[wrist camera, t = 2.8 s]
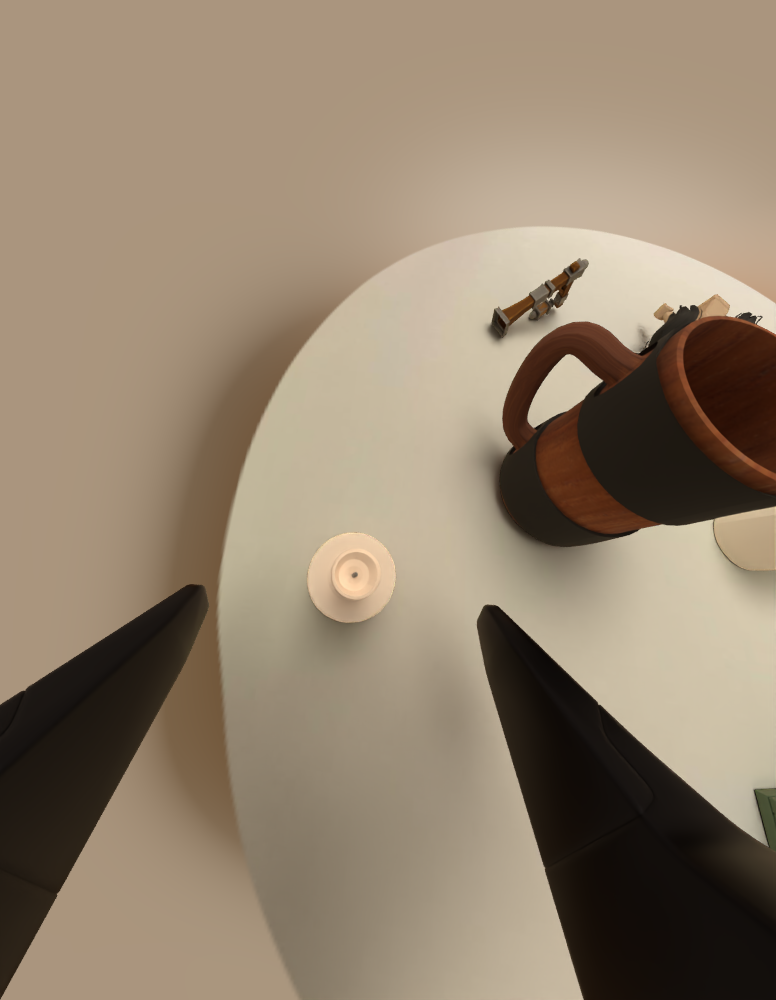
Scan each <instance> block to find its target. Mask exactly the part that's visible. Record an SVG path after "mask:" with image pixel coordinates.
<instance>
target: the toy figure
mask: <svg viewBox="0 0 776 1000" xmlns="http://www.w3.org/2000/svg"><path fill="white" fill-rule="evenodd" d="M681 306H682V305H680V309H679V310H678V312H677V313H676V314H675V313H674V312H672V311H673V308H671V307H669V306H667V304H666V303H665V304H663V305H662V306H661V307H660V308H659V309H658V310H657V311H656V312H655V313H654V316H655V317H656V318H657V319H659V320H664V322H665V324H664V325H663V326H662V327H661V328H660V329H658V330H657V331H656V332H655V334H654V335H653V336H652V338H651V341H650V343H649V346H651V345H652V344H654V343H655V342H657V341H658V340H660V339H661V338H662V337H664V336H665V335H667V334H668V333H669V332H671V331H672V330H674V329H675V328H677V327H680V326H682V325H684V324H688V323H691V322H694V321H696V320H698V319H700V318H704V317H708V316H726V314H727V313H728V310H729V308H730V305H729V304H728V303H727V302H726V301H725V300H723V299H722V298H721V297H720V296H719V295H718V294H717V295H714V296H713V297H711V298H710V299H708V300H707V301H705V302H704V303H702V304H701V305H699V306H698V307H696V306H695V305H692V306H690V310H689V309H688V308H687V307H686V306H685V307H681ZM741 314H742V313H741ZM739 315H740V314H739ZM739 315H737V316H736V317H735V318H737V317H738V316H739ZM751 315H752V313H750V312H748V313H743V314H742V315H741V316H739V317H738V319H742V320H745V321H748V322H751V323H753V324H755V321H756V319H757V317H756V316H751ZM750 316H751V317H750ZM758 317H761V318H760V319H759V320H758V321H760V320H761V319H762V316H758ZM758 321H757V323H758ZM757 323H756V325H757ZM648 342H649V341H648ZM648 342H647V343H648ZM647 343H646V344H647ZM645 349H646V346H645Z"/></svg>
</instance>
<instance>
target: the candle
mask: <svg viewBox="0 0 776 1000" xmlns="http://www.w3.org/2000/svg"><path fill="white" fill-rule="evenodd" d="M395 580H396V574H395V565H394V563H393V560H392V557H391V555H390V553H389V552H388V550H387V549H386V547H385V546H384V545H383V544H381V543H380V542H379V541H378V540H377V539H375V538H373V537H371V536H369V535H367V534H362V533H357V532H354V533H344V534H341V535H337V536H335V537H333V538H331V539H330V540H328V541H327V542H325V543H324V544H323V545H322V546H321V547H320V548H319V549H318V550H317V552H316V554H315V555H314V557H313V559H312V561H311V562H310V566H309V570H308V573H307V587H308V590H309V594H310V598H311V599H312V601H313V603H314V604H315V606H316V608H317V609H318V610H320V611H321V612H322V613H323V614H324V615H325V616H327V617H329V618H331V619H333V620H335V621H339V622H345V623H353V622H361V621H364V620H366V619H369V618H371V617H373V616H374V615H376V614H377V613H378V612H380V611H381V610H382V609H383V608H384V606H385V605H386V604H387V603H388V601H389V599H390V597H391V595H392V593H393V591H394V586H395Z"/></svg>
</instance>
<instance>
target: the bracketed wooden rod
mask: <svg viewBox="0 0 776 1000" xmlns="http://www.w3.org/2000/svg"><path fill="white" fill-rule="evenodd" d="M588 264H589V263H588V260H582V261H581V259H580V258H579V259H578V260H577V261H575V262H574V263H572V264H571V265H570V266H569V267H567V268H565V269H564V270H563V273H561V274H560V275H558V276H557V277H555V278H554V279H552V280H551V281H550V280H548V281H545V284H544V285H543V284H542V285H541V286H540V287H538V288H537V289H535V290H534V291H532V292H530V293H529V296H528V297H526V298H525V299H523V300H522V301H520V302H518V303H516V304H514V305H512V306H510V307H509V308H506V309H504V310H501V309H500V308H499V307H498V308H496V309H494V313H493V318H492V325H493V326H494V327H495V329H496V330H497V331H498V333H499V334H500V336H501V337H502V338H503V336H505V335H506V333H507V330H508V327H509V326H510V325H511V324H512V323H513V322H515V321H516V320H517V319H518V318H519V317H520V316H522V315H523V314H524V313H525V312H527V311H528V310H529V309H531V308H532V309H533V311H532V312H531V313H530V315H529V317H530V318H531V319H534V318H536V320H538V319H539V318H540V317H541V316H542V315H544V314H545V313H546V314H547V315H548V313H549V311H550V309H551V307H553V305H555V306H556V308H559V307H560V306H562V305H563V302H564V301H565V300H566V298H567V296H568V292H569V289H570V287H571V285H572V283H573V281H574V280H575V279H577V278H578V277H581V276H582V274H583V272H584V270H585V269H586V268H587V267H588ZM557 290H559V292H558V293H557V294H556V297H555V298H554V300H553V299H552V298H551V299H550V301H549V302H548V300H547V298H548V299H549V298H550V297H552V295H553V293H554V292H555V291H557ZM540 303H541V304H540Z"/></svg>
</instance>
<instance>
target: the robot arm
mask: <svg viewBox="0 0 776 1000" xmlns="http://www.w3.org/2000/svg"><path fill="white" fill-rule="evenodd" d="M208 607H209V603H208V599H207V594H206V589H205V587H204V586H203V585H194V584H190V585H187V586H185V587H183V588H182V589H180V590H179V591H177V592H176V593H174V594H173V595H171V596H169V597H168V598H166V599H165V600H163V601H162V602H160V603H159V604H157V605H155V606H154V607H152V608H151V609H149V610H148V611H146V612H144V613H143V614H141V615H140V616H138V617H137V618H135V619H134V620H132V621H130V622H129V623H127V624H126V625H124V626H123V627H121V628H120V629H118V630H117V631H115V632H113V633H112V634H110V635H109V636H107V637H105V638H104V639H103V640H101V641H99V642H98V643H96V644H95V645H93V646H92V647H90V648H88V649H87V650H85V651H84V652H82V653H81V654H79V655H77V656H76V657H74V658H73V659H71V660H70V661H68V662H67V663H65V664H64V665H62V666H60V667H59V668H57V669H56V670H54V671H52V672H51V673H49V674H48V675H46V676H45V677H43V678H42V679H40V680H38V681H37V682H35V683H34V684H32V685H31V686H29V687H28V688H27V689H26V691H21V692H19V693H18V694H17V695H15V696H13V697H12V698H10V699H9V700H7V701H5V702H4V703H2V704H1V705H0V999H1V997H2V995H3V994H4V992H5V990H6V988H7V986H8V984H9V983H10V981H11V978H12V977H13V975H14V973H15V972H16V970H17V968H18V966H19V964H20V963H21V961H22V959H23V957H24V955H25V954H26V952H27V950H28V948H29V946H30V944H31V942H32V941H33V939H34V937H35V935H36V933H37V932H38V930H39V928H40V926H41V924H42V923H43V921H44V919H45V917H46V915H47V914H48V912H49V910H50V908H51V906H52V904H53V903H54V901H55V899H56V897H57V893H58V892H59V891H60V889H61V887H62V886H63V884H64V882H65V880H66V879H67V877H68V875H69V873H70V871H71V869H72V868H73V866H74V864H75V862H76V860H77V858H78V857H79V855H80V853H81V851H82V849H83V848H84V846H85V844H86V842H87V840H88V839H89V837H90V835H91V833H92V831H93V830H94V828H95V826H96V824H97V822H98V820H99V819H100V817H101V815H102V813H103V811H104V810H105V808H106V806H107V804H108V802H109V801H110V799H111V797H112V795H113V793H114V791H115V790H116V788H117V786H118V784H119V782H120V781H121V779H122V777H123V775H124V773H125V771H126V770H127V768H128V766H129V764H130V762H131V760H132V759H133V757H134V755H135V753H136V752H137V750H138V748H139V746H140V744H141V742H142V741H143V738H144V737H145V735H146V733H147V731H148V730H149V728H150V726H151V724H152V722H153V721H154V719H155V717H156V715H157V713H158V712H159V710H160V708H161V706H162V704H163V702H164V701H165V699H166V697H167V695H168V693H169V692H170V690H171V688H172V686H173V684H174V682H175V681H176V679H177V677H178V675H179V673H180V672H181V670H182V668H183V666H184V664H185V662H186V660H187V657H188V655H189V653H190V651H191V649H192V646H193V644H194V641H195V639H196V637H197V634H198V632H199V630H200V627H201V625H202V623H203V620H204V618H205V616H206V613H207V611H208ZM477 630H478V635H479V640H480V645H481V650H482V655H483V660H484V665H485V670H486V674H487V678H488V681H489V685H490V688H491V691H492V695H493V698H494V701H495V705H496V708H497V711H498V715H499V718H500V721H501V725H502V728H503V731H504V735H505V738H506V741H507V745H508V748H509V751H510V755H511V758H512V761H513V765H514V768H515V771H516V775H517V778H518V782H519V785H520V788H521V792H522V795H523V798H524V802H525V805H526V808H527V812H528V815H529V818H530V822H531V825H532V828H533V832H534V835H535V838H536V842H537V845H538V848H539V852H540V855H541V858H542V862H543V865H544V867H545V872H546V876H547V879H548V882H549V886H550V889H551V892H552V896H553V899H554V902H555V906H556V909H557V912H558V916H559V919H560V922H561V926H562V929H563V932H564V936H565V939H566V942H567V946H568V949H569V953H570V956H571V959H572V963H573V966H574V969H575V973H576V976H577V979H578V983H579V986H580V989H581V993H582V996H583V999H584V1000H776V851H774V850H772V849H771V848H769V847H767V846H766V845H764V844H762V843H761V842H759V841H757V840H756V839H755V838H753V837H752V836H750V835H749V834H747V833H746V832H744V831H743V830H742V829H740V828H739V827H738V826H736V825H735V824H734V823H732V822H731V821H730V820H729V819H728V818H726V817H725V816H724V815H723V814H722V813H720V812H719V811H718V810H717V809H716V808H715V807H713V806H712V805H711V804H710V803H709V802H708V801H707V800H705V799H704V798H703V797H702V796H701V795H700V794H699V793H697V792H696V791H695V790H694V789H693V788H692V787H691V786H689V785H688V784H687V783H686V782H685V781H684V780H682V779H681V778H680V777H679V776H678V775H677V774H676V773H674V772H673V771H672V770H671V769H670V768H669V767H668V766H666V765H665V764H664V763H663V762H662V761H661V760H659V759H658V758H657V757H656V756H655V755H654V754H653V753H652V752H651V751H649V750H648V749H647V748H646V747H645V746H644V745H643V744H642V743H640V742H639V741H638V740H637V739H636V738H635V737H634V736H633V735H632V734H631V733H629V732H628V731H627V730H626V729H625V728H624V727H623V726H622V725H621V724H620V723H619V722H618V721H617V720H616V719H615V718H614V717H612V716H611V715H610V714H609V713H608V712H607V711H606V710H605V709H604V708H603V707H602V706H601V705H598V702H597V701H596V700H595V699H594V698H593V697H592V696H591V695H590V694H589V693H587V692H586V691H585V690H584V689H583V688H582V687H581V686H580V685H579V684H578V683H577V682H576V681H575V680H574V679H573V678H572V677H571V676H570V675H569V674H568V673H567V672H566V671H565V670H564V669H563V668H562V667H561V666H560V665H558V664H557V663H556V662H555V661H554V660H553V659H552V658H551V657H550V656H549V655H548V654H547V653H546V652H545V651H544V650H543V649H542V648H541V647H540V646H539V645H538V644H537V643H536V642H535V641H534V640H533V639H532V638H531V637H529V636H528V635H527V634H526V633H525V632H524V631H523V630H522V629H521V628H520V627H519V626H518V625H517V624H516V623H515V622H514V621H513V620H512V619H511V618H510V617H509V616H508V615H507V614H506V613H505V612H504V611H503V610H501V609H500V608H499V607H498V606H496V605H485V606H484V607H483V609H482V611H481V613H480V615H479V618H478V620H477Z"/></svg>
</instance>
